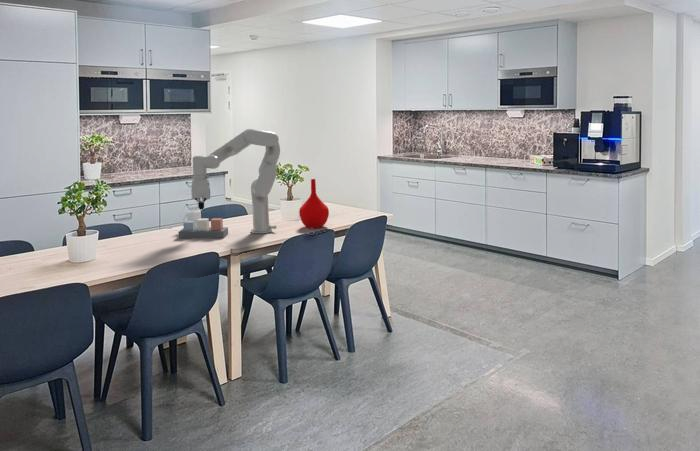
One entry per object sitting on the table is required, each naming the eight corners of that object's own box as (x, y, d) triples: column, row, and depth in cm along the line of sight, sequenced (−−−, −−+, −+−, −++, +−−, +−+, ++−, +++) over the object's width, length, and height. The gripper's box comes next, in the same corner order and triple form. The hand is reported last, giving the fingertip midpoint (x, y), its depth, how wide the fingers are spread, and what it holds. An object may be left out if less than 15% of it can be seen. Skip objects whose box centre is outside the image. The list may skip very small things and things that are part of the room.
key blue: (196, 231, 358) (195, 220, 357) (193, 233, 353) (192, 222, 351) (186, 231, 358) (185, 220, 357) (183, 233, 353) (183, 222, 351)
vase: (328, 229, 369) (327, 180, 364) (298, 229, 370) (296, 181, 364) (329, 224, 387) (328, 177, 382) (301, 224, 388) (299, 177, 382)
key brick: (223, 229, 358) (222, 218, 356) (220, 230, 352) (220, 219, 351) (213, 229, 358) (212, 218, 356) (211, 231, 352) (210, 220, 351)
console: (228, 233, 361) (227, 227, 361) (223, 238, 350) (223, 231, 349) (184, 234, 362) (184, 227, 361) (178, 238, 350) (178, 231, 349)
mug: (187, 233, 365) (185, 213, 362) (180, 231, 371) (179, 212, 369) (204, 230, 372) (203, 211, 370) (197, 228, 379) (196, 209, 376)
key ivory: (209, 229, 358) (208, 218, 356) (207, 231, 352) (206, 220, 351) (200, 229, 358) (199, 218, 357) (197, 231, 352) (196, 220, 351)
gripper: (214, 176, 353) (215, 208, 356) (188, 176, 353) (190, 208, 356) (211, 178, 345) (212, 210, 349) (185, 178, 346) (186, 210, 349)
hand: (201, 209), depth 353 cm, fingers closed
